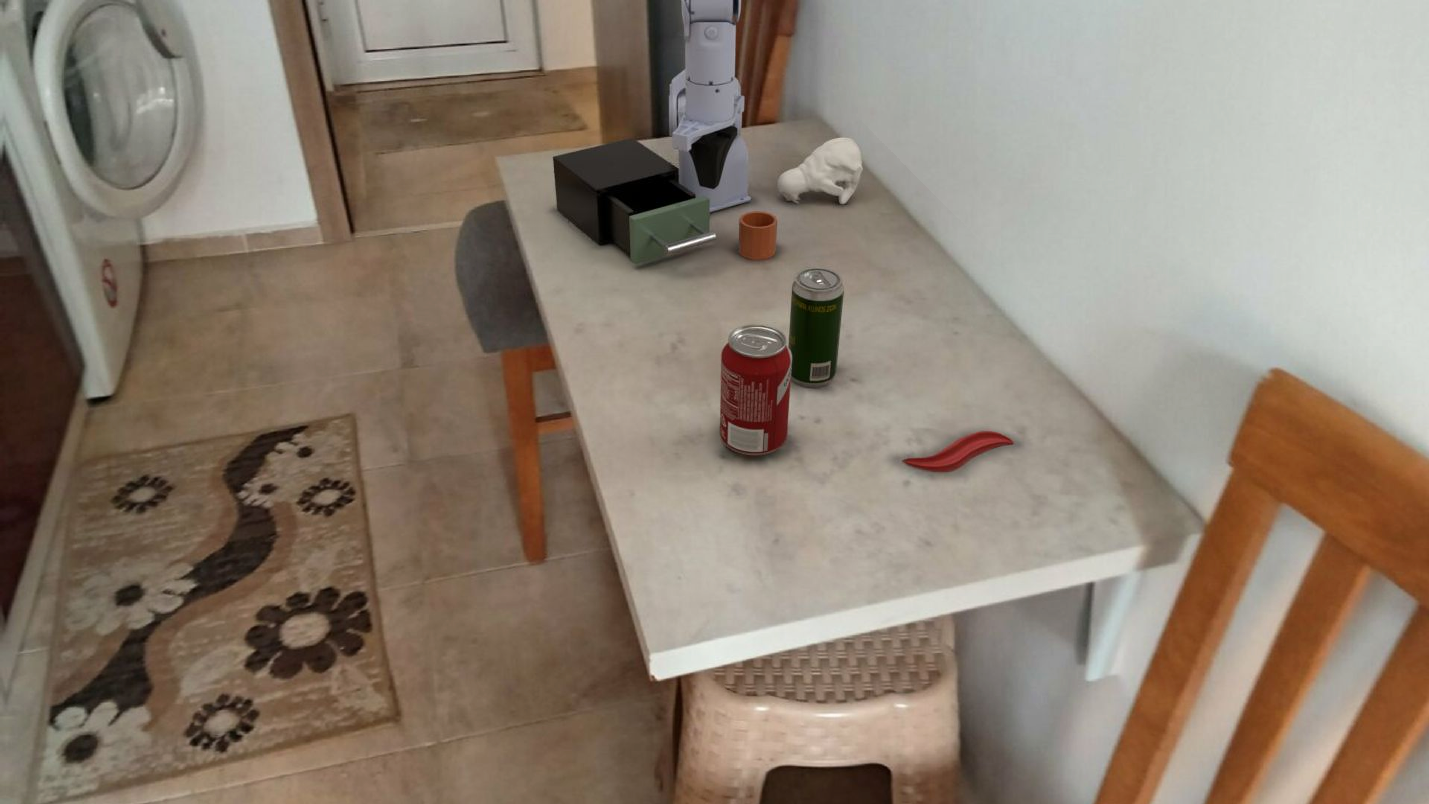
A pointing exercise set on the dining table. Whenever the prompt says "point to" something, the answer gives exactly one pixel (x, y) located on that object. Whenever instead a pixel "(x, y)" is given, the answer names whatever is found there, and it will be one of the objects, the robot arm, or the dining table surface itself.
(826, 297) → the beer can
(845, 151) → the white lumpy figure
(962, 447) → the cayenne pepper
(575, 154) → the drawer cabinet
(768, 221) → the cup
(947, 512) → the dining table surface
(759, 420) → the soda can
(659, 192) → the green drawer
